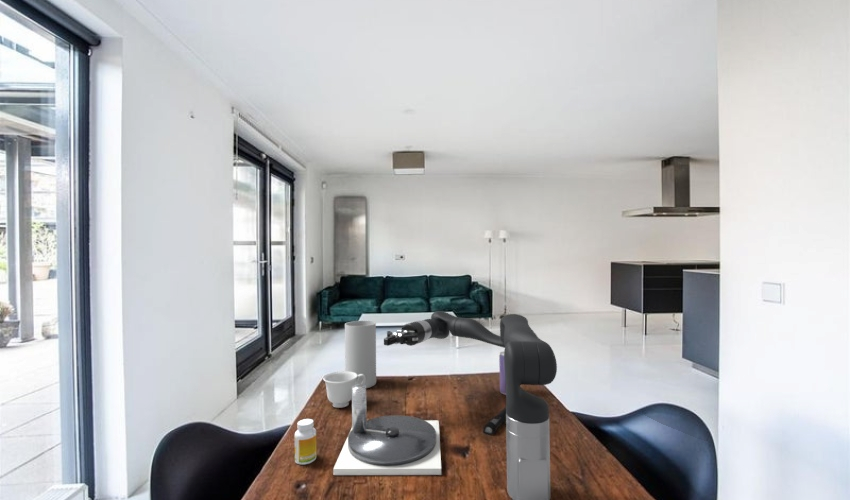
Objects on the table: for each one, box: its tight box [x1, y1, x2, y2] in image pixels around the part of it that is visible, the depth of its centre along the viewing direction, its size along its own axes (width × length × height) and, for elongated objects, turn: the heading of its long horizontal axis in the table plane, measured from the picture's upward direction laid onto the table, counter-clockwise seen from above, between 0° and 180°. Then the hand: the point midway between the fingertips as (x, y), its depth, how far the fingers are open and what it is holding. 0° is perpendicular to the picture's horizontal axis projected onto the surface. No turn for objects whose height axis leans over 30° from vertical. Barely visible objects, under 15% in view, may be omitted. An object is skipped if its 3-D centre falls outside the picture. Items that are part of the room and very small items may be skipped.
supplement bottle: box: [294, 418, 317, 466], centre depth 97 cm, size 5×5×10 cm
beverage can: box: [498, 350, 506, 396], centre depth 142 cm, size 6×6×15 cm
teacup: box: [322, 370, 366, 409], centre depth 133 cm, size 12×15×10 cm
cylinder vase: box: [344, 320, 377, 389], centre depth 153 cm, size 12×12×25 cm
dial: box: [347, 385, 436, 466], centre depth 103 cm, size 24×24×14 cm
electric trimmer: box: [482, 407, 506, 437], centre depth 116 cm, size 4×16×3 cm, turn 147°
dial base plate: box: [332, 419, 442, 476], centre depth 103 cm, size 26×26×2 cm
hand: (385, 342), depth 116 cm, fingers closed
